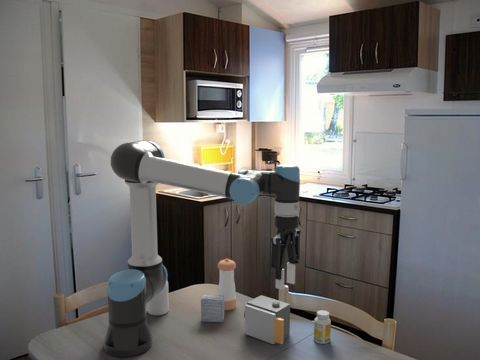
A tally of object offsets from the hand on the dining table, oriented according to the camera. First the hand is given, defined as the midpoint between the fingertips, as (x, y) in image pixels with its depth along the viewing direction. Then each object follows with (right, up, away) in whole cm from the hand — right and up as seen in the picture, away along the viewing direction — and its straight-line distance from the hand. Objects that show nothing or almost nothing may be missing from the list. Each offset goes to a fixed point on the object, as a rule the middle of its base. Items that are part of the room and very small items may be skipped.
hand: (285, 285), depth 150 cm
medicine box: (-24, -17, +20) cm, 36 cm away
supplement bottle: (+13, -19, +6) cm, 24 cm away
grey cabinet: (-5, -19, +10) cm, 22 cm away
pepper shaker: (-20, -15, +32) cm, 40 cm away
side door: (-7, -19, +5) cm, 21 cm away
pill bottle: (-45, -16, +27) cm, 55 cm away
